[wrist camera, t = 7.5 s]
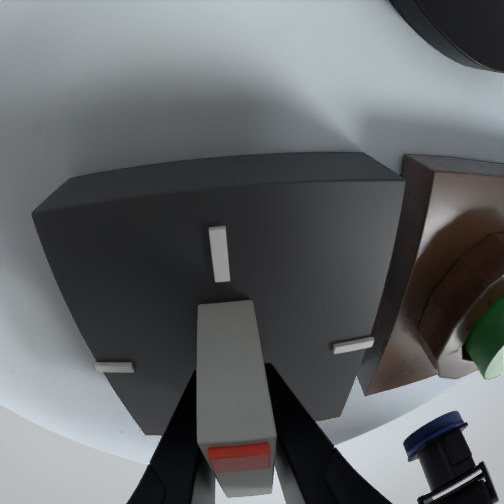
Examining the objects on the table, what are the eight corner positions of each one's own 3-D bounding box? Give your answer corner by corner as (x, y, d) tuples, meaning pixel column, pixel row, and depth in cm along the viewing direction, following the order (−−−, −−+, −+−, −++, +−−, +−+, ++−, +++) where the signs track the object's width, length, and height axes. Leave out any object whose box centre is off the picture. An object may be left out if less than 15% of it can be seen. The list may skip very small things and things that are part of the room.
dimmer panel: (328, 375, 15) (343, 419, 12) (147, 392, 14) (142, 438, 12) (366, 152, 9) (413, 182, 6) (66, 178, 8) (24, 216, 6)
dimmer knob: (257, 399, 11) (273, 500, 7) (219, 403, 10) (227, 504, 7) (252, 298, 8) (279, 448, 4) (197, 303, 8) (197, 455, 4)
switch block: (475, 336, 15) (502, 375, 12) (354, 370, 15) (376, 426, 12) (538, 169, 10) (588, 201, 7) (403, 153, 9) (474, 196, 6)
